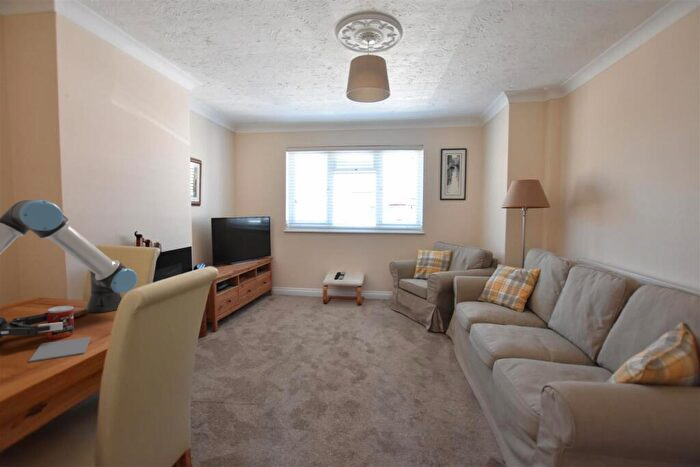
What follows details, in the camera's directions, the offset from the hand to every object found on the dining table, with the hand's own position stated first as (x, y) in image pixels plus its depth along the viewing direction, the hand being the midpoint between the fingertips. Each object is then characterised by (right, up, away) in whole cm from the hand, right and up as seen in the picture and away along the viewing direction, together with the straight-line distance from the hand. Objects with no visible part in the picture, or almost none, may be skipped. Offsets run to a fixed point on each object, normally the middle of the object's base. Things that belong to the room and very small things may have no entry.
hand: (66, 320), depth 127 cm
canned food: (-2, -6, 0) cm, 6 cm away
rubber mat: (+10, -7, -12) cm, 17 cm away
